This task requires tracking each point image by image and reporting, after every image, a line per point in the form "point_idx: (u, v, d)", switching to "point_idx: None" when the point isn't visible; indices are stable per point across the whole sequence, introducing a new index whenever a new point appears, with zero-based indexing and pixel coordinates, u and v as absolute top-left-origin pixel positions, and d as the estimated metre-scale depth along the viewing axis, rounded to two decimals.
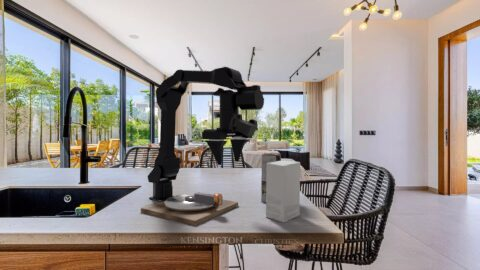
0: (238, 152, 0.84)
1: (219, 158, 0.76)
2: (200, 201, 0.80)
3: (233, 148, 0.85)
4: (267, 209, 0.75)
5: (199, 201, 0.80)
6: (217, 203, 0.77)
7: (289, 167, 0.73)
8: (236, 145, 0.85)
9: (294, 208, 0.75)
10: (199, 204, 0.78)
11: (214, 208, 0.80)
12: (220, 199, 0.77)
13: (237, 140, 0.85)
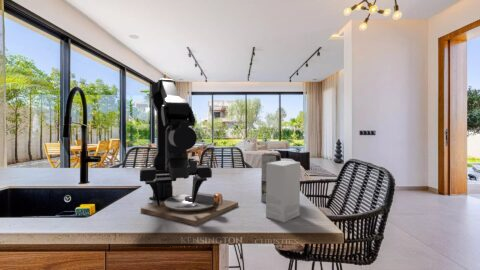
0: (193, 192, 0.75)
1: (155, 199, 0.72)
2: (200, 201, 0.80)
3: (193, 187, 0.77)
4: (267, 209, 0.75)
5: (199, 201, 0.80)
6: (217, 203, 0.77)
7: (289, 167, 0.73)
8: (193, 184, 0.76)
9: (294, 208, 0.75)
10: (199, 204, 0.78)
11: (214, 208, 0.80)
12: (220, 199, 0.77)
13: (194, 179, 0.76)
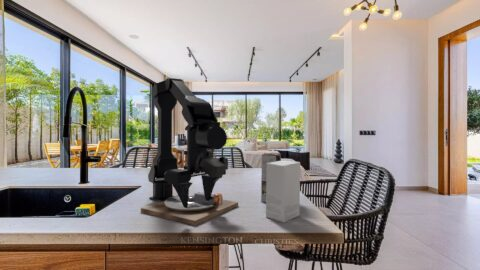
0: (209, 190, 0.78)
1: (184, 201, 0.70)
2: (200, 201, 0.80)
3: (204, 186, 0.79)
4: (267, 209, 0.75)
5: (199, 201, 0.80)
6: (217, 203, 0.77)
7: (289, 167, 0.73)
8: (207, 182, 0.78)
9: (294, 208, 0.75)
10: (199, 204, 0.78)
11: (214, 208, 0.80)
12: (220, 199, 0.77)
13: (208, 178, 0.78)
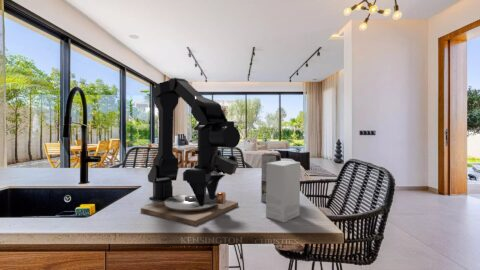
0: (213, 189, 0.79)
1: (202, 199, 0.71)
2: None
3: (208, 185, 0.80)
4: (267, 209, 0.75)
5: None
6: (221, 201, 0.79)
7: (289, 167, 0.73)
8: (211, 182, 0.80)
9: (294, 208, 0.75)
10: None
11: (214, 208, 0.80)
12: (223, 197, 0.79)
13: (212, 177, 0.80)
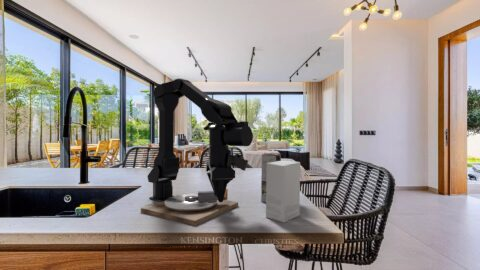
0: None
1: (222, 195, 0.75)
2: (205, 199, 0.83)
3: (212, 183, 0.83)
4: (267, 209, 0.75)
5: (204, 199, 0.83)
6: (226, 197, 0.84)
7: (289, 167, 0.73)
8: None
9: (294, 208, 0.75)
10: (209, 202, 0.81)
11: (214, 208, 0.80)
12: (227, 193, 0.85)
13: None
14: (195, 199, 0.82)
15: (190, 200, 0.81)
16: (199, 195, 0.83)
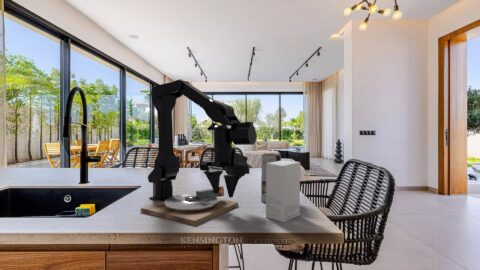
0: (218, 184, 0.87)
1: (233, 191, 0.80)
2: (205, 197, 0.85)
3: (212, 181, 0.86)
4: (267, 209, 0.75)
5: (204, 197, 0.85)
6: (223, 193, 0.88)
7: (289, 167, 0.73)
8: (215, 177, 0.86)
9: (294, 208, 0.75)
10: (212, 199, 0.84)
11: (214, 208, 0.80)
12: None
13: (215, 173, 0.87)
14: (197, 198, 0.83)
15: (193, 200, 0.82)
16: (200, 194, 0.84)
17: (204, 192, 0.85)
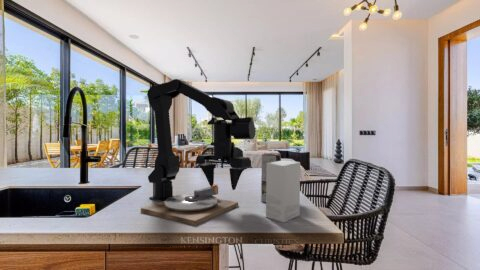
0: (212, 177, 0.90)
1: (236, 183, 0.84)
2: (204, 196, 0.86)
3: (208, 174, 0.88)
4: (267, 209, 0.75)
5: (203, 196, 0.86)
6: (217, 192, 0.91)
7: (289, 167, 0.73)
8: (210, 170, 0.89)
9: (294, 208, 0.75)
10: (211, 197, 0.86)
11: (214, 208, 0.80)
12: None
13: (210, 166, 0.89)
14: (197, 198, 0.84)
15: (195, 200, 0.82)
16: (199, 193, 0.85)
17: (203, 191, 0.86)
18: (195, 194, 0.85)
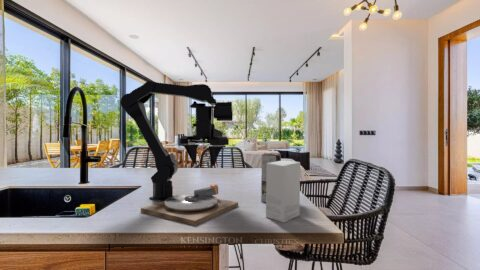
0: (195, 155, 0.99)
1: (215, 160, 0.93)
2: (204, 196, 0.86)
3: (191, 153, 0.98)
4: (267, 209, 0.75)
5: (203, 196, 0.86)
6: (217, 192, 0.91)
7: (289, 167, 0.73)
8: (193, 150, 0.99)
9: (294, 208, 0.75)
10: (211, 197, 0.86)
11: (214, 208, 0.80)
12: None
13: (193, 146, 0.99)
14: (197, 198, 0.84)
15: (195, 200, 0.82)
16: (199, 193, 0.85)
17: (203, 191, 0.86)
18: (195, 194, 0.85)
